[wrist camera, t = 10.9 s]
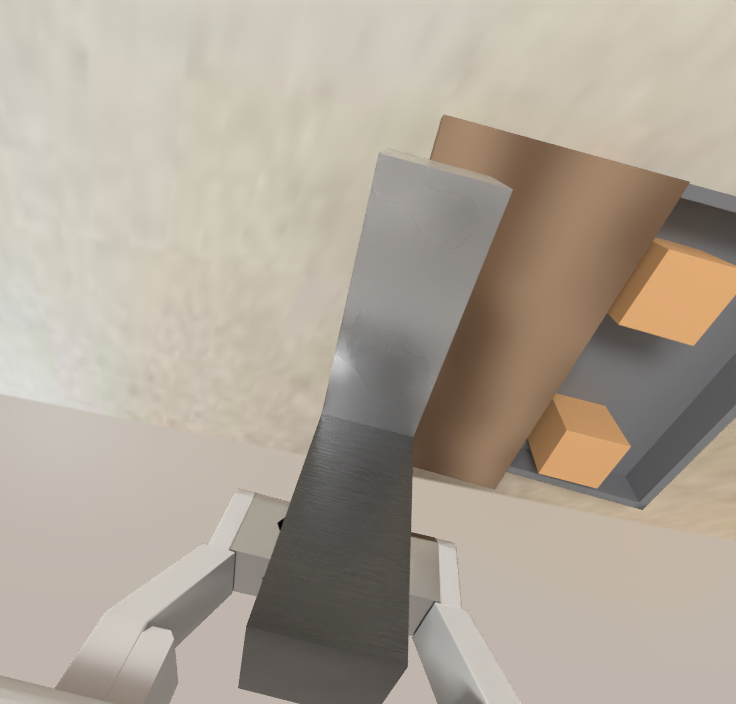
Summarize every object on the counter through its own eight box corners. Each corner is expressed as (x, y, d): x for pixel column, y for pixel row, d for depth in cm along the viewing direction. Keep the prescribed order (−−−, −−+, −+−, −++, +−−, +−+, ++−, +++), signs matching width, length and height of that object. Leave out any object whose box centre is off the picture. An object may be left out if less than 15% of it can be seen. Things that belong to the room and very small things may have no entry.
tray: (847, 229, 20) (909, 244, 17) (624, 477, 30) (642, 509, 28) (634, 171, 20) (664, 177, 17) (485, 438, 30) (490, 467, 28)
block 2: (629, 229, 21) (700, 249, 21) (590, 295, 23) (654, 313, 23) (669, 249, 17) (753, 273, 17) (618, 324, 19) (693, 346, 19)
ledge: (634, 171, 20) (690, 182, 15) (485, 438, 30) (494, 489, 26) (441, 118, 20) (443, 114, 16) (359, 403, 30) (348, 448, 26)
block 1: (549, 391, 26) (605, 405, 26) (525, 432, 29) (577, 445, 28) (567, 430, 23) (631, 446, 23) (538, 473, 25) (597, 488, 25)
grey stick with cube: (490, 176, 11) (673, 284, 3) (357, 539, 20) (316, 797, 12) (388, 148, 11) (304, 184, 3) (302, 525, 20) (226, 774, 12)
